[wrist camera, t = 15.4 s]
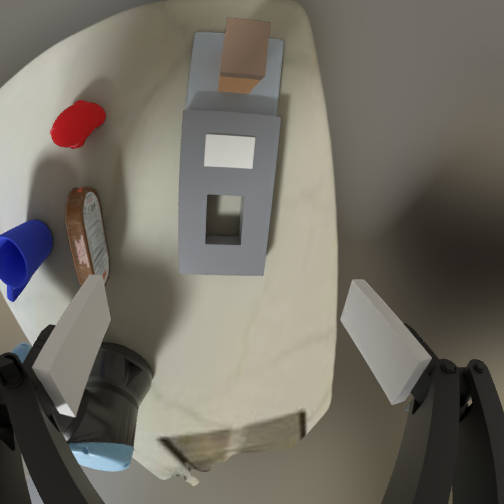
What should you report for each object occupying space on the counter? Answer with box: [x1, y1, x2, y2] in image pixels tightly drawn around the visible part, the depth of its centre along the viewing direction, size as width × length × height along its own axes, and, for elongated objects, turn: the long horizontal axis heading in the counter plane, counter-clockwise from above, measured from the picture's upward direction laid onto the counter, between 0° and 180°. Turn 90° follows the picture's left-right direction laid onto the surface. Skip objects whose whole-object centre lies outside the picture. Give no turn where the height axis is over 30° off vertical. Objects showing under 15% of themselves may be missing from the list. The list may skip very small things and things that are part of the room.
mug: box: [0, 220, 53, 302], centre depth 32 cm, size 8×12×10 cm
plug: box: [218, 18, 270, 94], centre depth 25 cm, size 4×6×12 cm, turn 175°
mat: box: [186, 32, 284, 117], centre depth 31 cm, size 12×12×1 cm
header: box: [179, 110, 281, 276], centre depth 36 cm, size 12×22×4 cm, turn 175°
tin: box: [65, 187, 109, 286], centre depth 34 cm, size 15×3×8 cm, turn 179°
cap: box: [50, 100, 106, 149], centre depth 28 cm, size 8×6×6 cm
